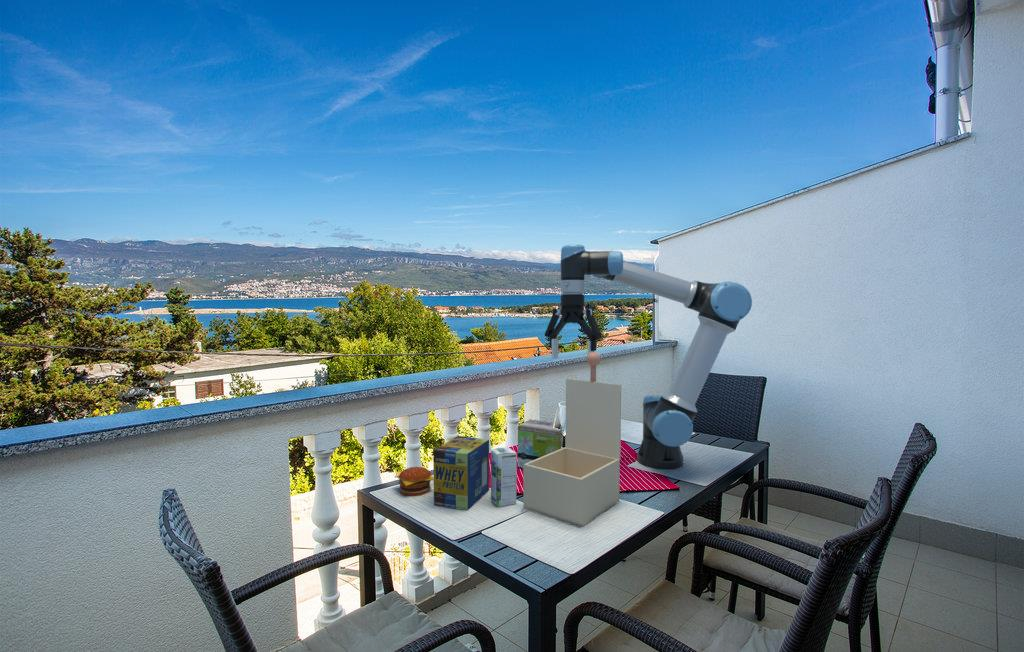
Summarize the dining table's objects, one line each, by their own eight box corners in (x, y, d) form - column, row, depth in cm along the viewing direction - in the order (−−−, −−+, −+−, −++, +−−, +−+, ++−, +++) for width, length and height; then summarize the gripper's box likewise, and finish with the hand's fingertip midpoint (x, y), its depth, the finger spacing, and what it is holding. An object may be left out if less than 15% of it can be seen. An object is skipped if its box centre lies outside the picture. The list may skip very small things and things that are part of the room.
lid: (563, 448, 145) (570, 445, 148) (616, 460, 134) (623, 456, 137) (563, 350, 144) (571, 349, 147) (618, 354, 133) (624, 353, 136)
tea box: (516, 468, 163) (516, 424, 162) (529, 460, 172) (529, 418, 171) (558, 476, 156) (558, 430, 155) (570, 466, 165) (570, 423, 164)
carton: (564, 486, 147) (564, 447, 146) (619, 502, 135) (619, 459, 135) (523, 508, 131) (523, 464, 131) (581, 527, 120) (581, 479, 119)
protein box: (433, 505, 134) (432, 449, 133) (458, 485, 148) (457, 435, 147) (467, 511, 130) (467, 453, 129) (490, 490, 144) (489, 438, 144)
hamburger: (407, 499, 138) (406, 476, 138) (394, 489, 146) (393, 467, 146) (437, 491, 143) (436, 469, 143) (423, 482, 151) (422, 460, 151)
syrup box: (490, 499, 137) (489, 448, 137) (509, 496, 140) (509, 446, 139) (497, 507, 132) (497, 454, 131) (517, 503, 134) (517, 451, 134)
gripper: (534, 294, 161) (534, 358, 163) (601, 293, 146) (601, 364, 147) (547, 294, 167) (547, 356, 168) (613, 293, 151) (612, 361, 152)
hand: (572, 360), depth 157 cm, fingers open, 13 cm apart
